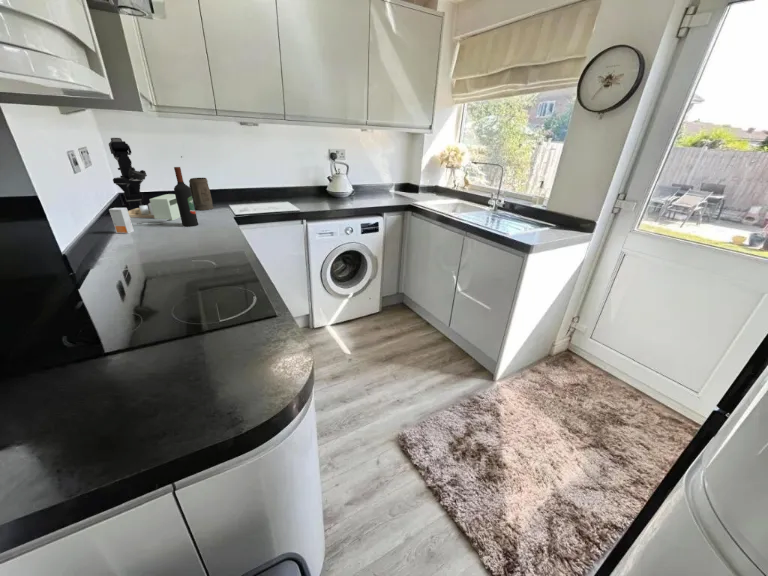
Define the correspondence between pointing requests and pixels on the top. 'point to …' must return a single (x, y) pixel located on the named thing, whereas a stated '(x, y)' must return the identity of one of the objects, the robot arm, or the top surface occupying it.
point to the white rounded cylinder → (144, 210)
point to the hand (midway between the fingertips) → (133, 194)
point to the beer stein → (201, 193)
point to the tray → (139, 214)
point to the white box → (150, 209)
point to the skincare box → (121, 220)
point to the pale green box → (165, 207)
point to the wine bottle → (184, 201)
